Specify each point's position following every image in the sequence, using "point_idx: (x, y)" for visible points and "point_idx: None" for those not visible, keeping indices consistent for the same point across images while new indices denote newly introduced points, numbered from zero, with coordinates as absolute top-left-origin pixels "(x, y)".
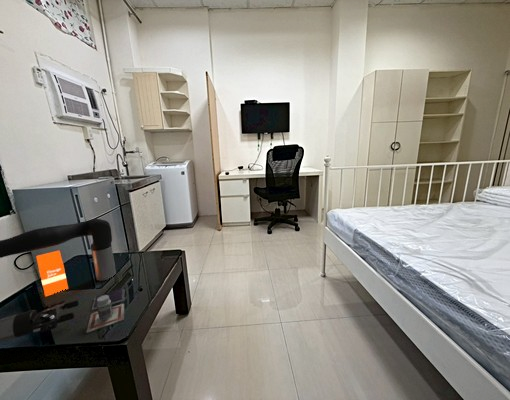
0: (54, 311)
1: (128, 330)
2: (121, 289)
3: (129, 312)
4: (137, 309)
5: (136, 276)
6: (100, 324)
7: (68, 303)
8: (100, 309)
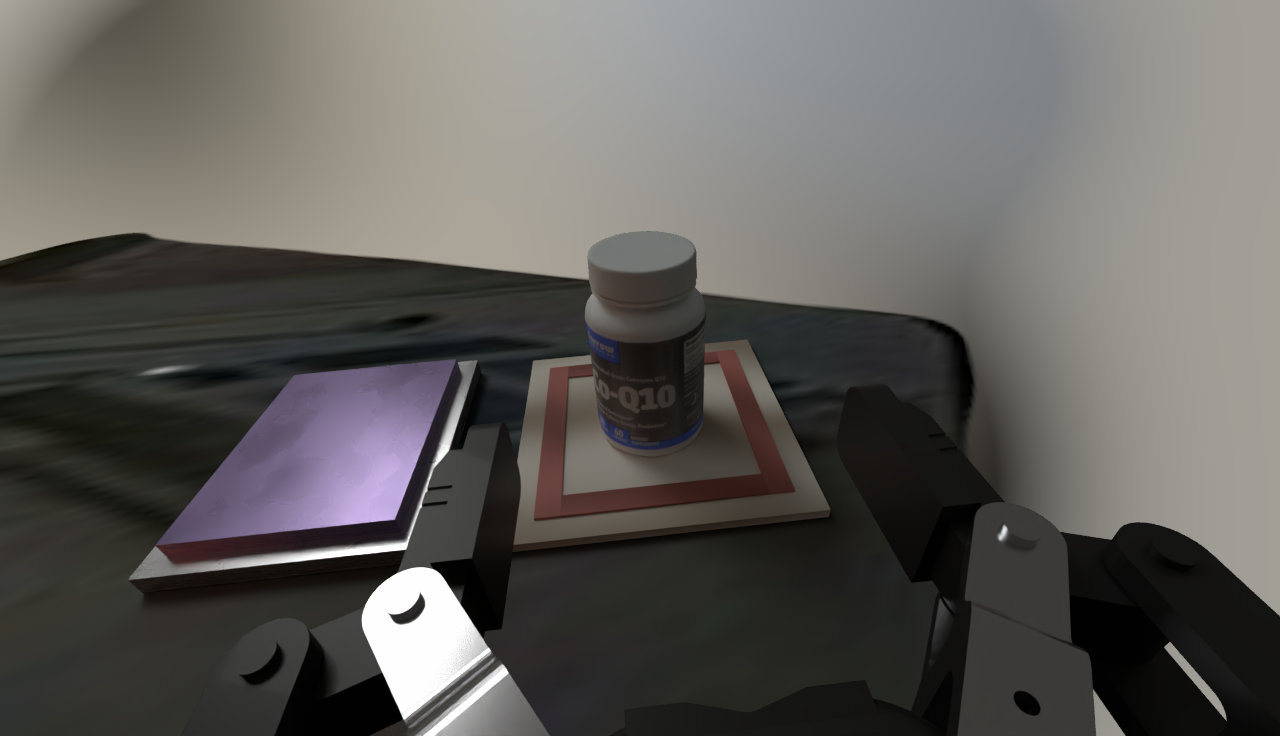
0: (698, 714)
1: (861, 320)
2: (303, 377)
3: None
4: None
5: (145, 357)
6: (754, 435)
7: (480, 519)
8: (702, 339)
